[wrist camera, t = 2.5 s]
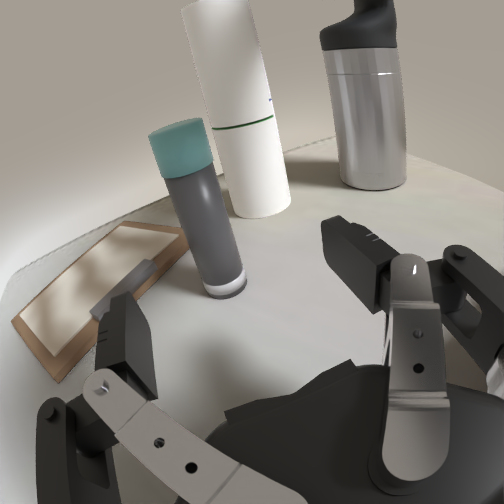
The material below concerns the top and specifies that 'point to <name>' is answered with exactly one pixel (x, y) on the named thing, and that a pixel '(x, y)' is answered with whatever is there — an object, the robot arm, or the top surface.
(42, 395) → the top surface
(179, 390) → the top surface
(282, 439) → the robot arm
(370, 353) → the top surface
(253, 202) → the cylindrical container
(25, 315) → the clipboard
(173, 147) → the marker
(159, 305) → the top surface
